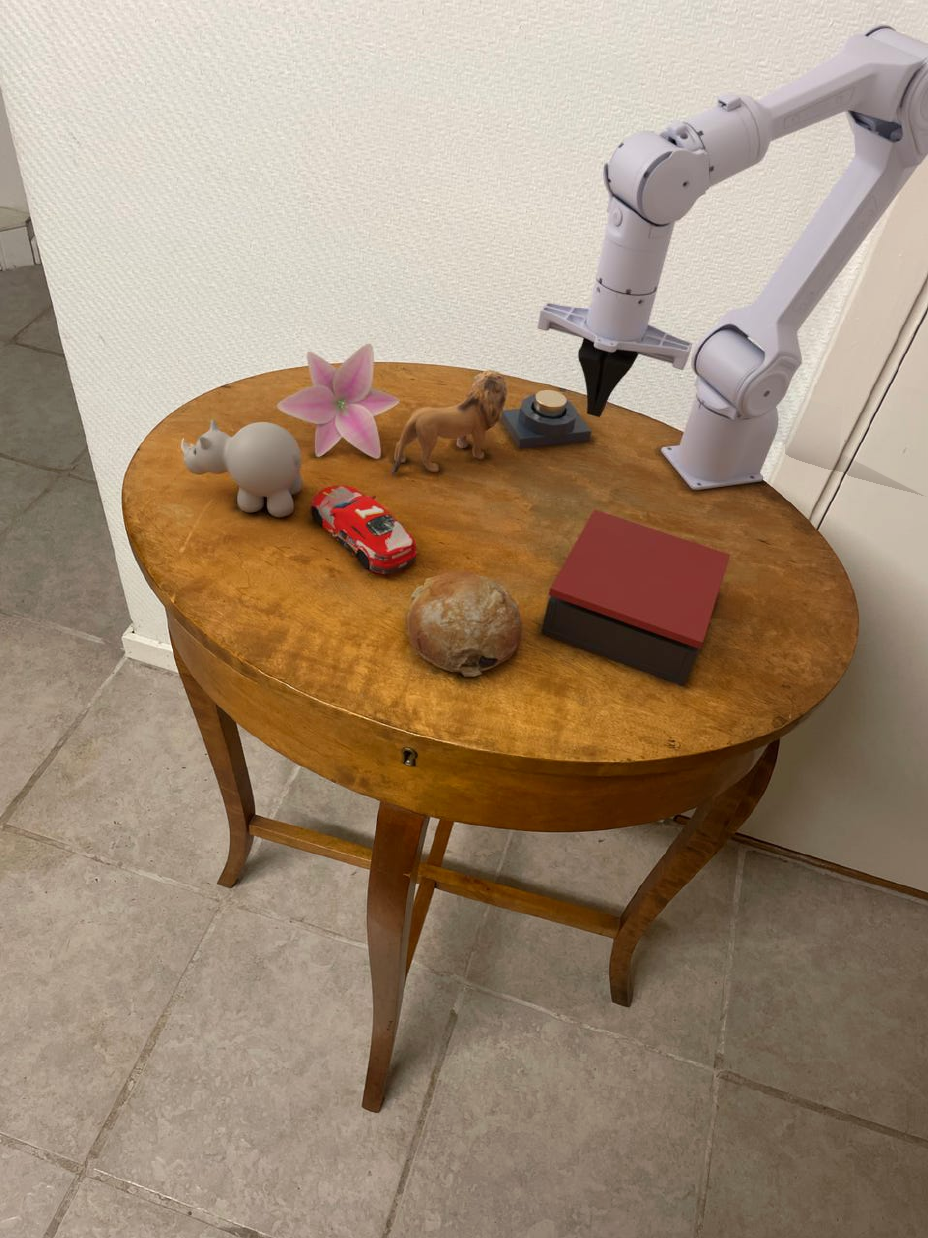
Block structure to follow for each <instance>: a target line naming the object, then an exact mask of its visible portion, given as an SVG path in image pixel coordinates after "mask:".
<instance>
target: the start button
mask: <svg viewBox="0 0 928 1238" xmlns="http://www.w3.org/2000/svg"><path fill="white" fill-rule="evenodd" d="M535 394H536V396H535V402H534V407H533V411H534V413H535V414H537V415H539V416H541V417H544V418H549V419H558V418H561V417H562V416H563V415H564V411H565V406H566V401H567V400H568V399H567V397H566V396H565V395H564V394H563V393H561V392H560V391H557V390H553V389H544V390H543V389H542V390H539V391H538V392H537V393H535Z"/></svg>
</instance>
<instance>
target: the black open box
mask: <svg viewBox="0 0 928 1238" xmlns="http://www.w3.org/2000/svg"><path fill="white" fill-rule="evenodd" d="M543 617H544V618H543V622H542V625H541V630H540V634H541V635H544V636H547V637H550V638H552V639H554V640H558V641H560V642H563V643H565V644H568V645H571V646H574V647H577V648H579V649H582V650H585V651H587V652H590V653H592V654H596V655H599V656H601V657H604V658H607V659H609V660H611V661H615V662H617V663H620V664H623V665H626V666H628V667H631V668H634V669H636V670H639V671H642V672H644V673H647V674H650V675H652V676H656V677H657V678H661V679H663V680H666V681H669V682H671V683H674V684H677V685H679V686H682V687H685V685H686V683H687V680H688V678H689V676H690V674H691V670H692V668H693V666H694V665H695V664H694V663H695V661H696V659H697V657H698V655H699V651H700V649H698V648H695V647H692V646H690V645H687V644H684V643H681V642H678V641H676V640H673V639H670V638H667V637H665V636H662V635H659V634H656V633H653V632H651V631H648V630H645V629H642V628H639V627H637V626H634V625H631V624H628V623H625V622H623V621H620V620H617V619H614V618H612V617H609V616H606V615H603V614H600V613H598V612H595V611H592V610H589V609H586V608H584V607H581V606H578V605H575V604H573V603H570V602H567V601H564V600H561V599H559V598H556V597H553V596H550V595H549V598H548V600H547V604H546V609H545V613H544V616H543Z"/></svg>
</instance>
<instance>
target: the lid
mask: <svg viewBox="0 0 928 1238" xmlns="http://www.w3.org/2000/svg"><path fill="white" fill-rule="evenodd" d="M730 556H731V554H730V553H726V552H723V551H720V550H717V549H714V548H711V547H708V546H705V545H702V544H700V543H697V542H693V541H691V540H687V539H684V538H681V537H678V536H676V535H672V534H670V533H666V532H664V531H660V530H657V529H654V528H652V527H648V526H645V525H642V524H640V523H637V522H634V521H630V520H628V519H625V518H622V517H619V516H617V515H613V514H609V513H606V512H604V511H601V510H597V509H593V511H592V512H591V515H590V516H589V518H588V520H587V522H586V523H585V525H584V527H583V529H582V531H580V534H579V536H578V538H577V540H576V542H575V543H574V545H573V547H572V548H571V550H570V552H569V554H568V556H567V557H566V560H565V561H564V563H563V565H562V566H561V568H560V570H559V572H558V573H557V575H556V577H555V579H554V581H553V582H552V583H551V586H550V588H549V591H548V596H549V597H550V596H553V597H556V598H559V599H561V600H564V601H567V602H570V603H573V604H575V605H578V606H581V607H584V608H586V609H589V610H592V611H595V612H598V613H600V614H603V615H606V616H609V617H612V618H614V619H617V620H620V621H623V622H625V623H628V624H631V625H634V626H637V627H639V628H642V629H645V630H648V631H651V632H653V633H656V634H659V635H662V636H665V637H667V638H670V639H673V640H676V641H678V642H681V643H684V644H687V645H690V646H692V647H695V648H698V649H699V650H701V648H702V646H703V644H704V641H705V637H706V634H707V630H708V627H709V624H710V622H711V618H712V614H713V612H714V608H715V605H716V602H717V600H718V599H717V598H718V595H719V592H720V588H721V586H722V582H723V579H724V576H725V573H726V569H727V566H728V563H729V560H730V558H731V557H730Z"/></svg>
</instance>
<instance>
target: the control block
mask: <svg viewBox="0 0 928 1238" xmlns="http://www.w3.org/2000/svg"><path fill="white" fill-rule="evenodd" d="M536 394H537V393H533V394H530V395H528V396H527V397H525V398H523V399H522V401H521V404H520V408H513V409H512V408H511V409H503V410H502V412H501V415H500V422H501V423H502V424H503V426H504V428H505V429H506V431H507V433H508V434H509V435H510V437H511V438H512V440H513V442H514V443H515V445H516V446H517V447H518V449H527V448H535V447H544V446H554V445H562V444H563V445H564V444H571V443H572V444H573V443H581V442H589V441H590V439H591V434H592V430H591V428H590V427H589V426H588V424H587V423H586V422H585V420H584V419H583V418H582V416H581V415H580V413H579V412H578V409H577V408H576V407H575V406H574V404H573V403H572V402H571V401H570V400H568V399H566V400H567V401H566V406H565V411H564V415H563V416H562V417H561V418H558V419H549V418H544V417H541V416H539V415H537V414H535V413H534V411H533V407H534V402H535V396H536Z"/></svg>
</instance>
